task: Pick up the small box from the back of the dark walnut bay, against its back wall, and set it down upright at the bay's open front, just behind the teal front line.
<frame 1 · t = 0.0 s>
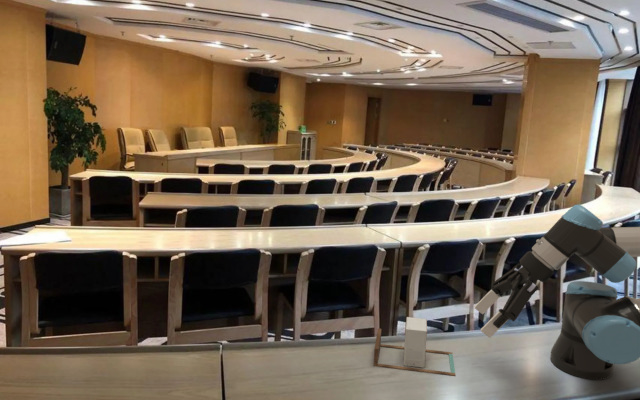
hand: (481, 321, 126), 15 cm above the table, tool tilted 35°, fingers open, 13 cm apart
small box: (413, 360, 137), on the table
bay: (414, 359, 137), on the table
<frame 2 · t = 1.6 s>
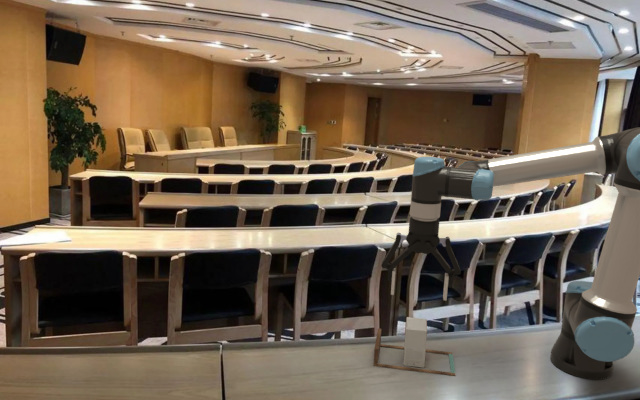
hand: (418, 295, 133), 18 cm above the table, tool pointing down, fingers open, 13 cm apart
nothing on the table moved.
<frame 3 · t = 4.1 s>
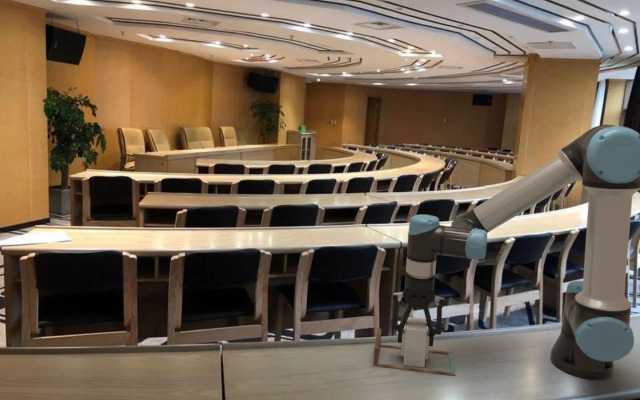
hand: (414, 354, 136), 1 cm above the table, tool pointing down, fingers closed on small box, 6 cm apart
small box: (413, 360, 137), on the table, touching gripper
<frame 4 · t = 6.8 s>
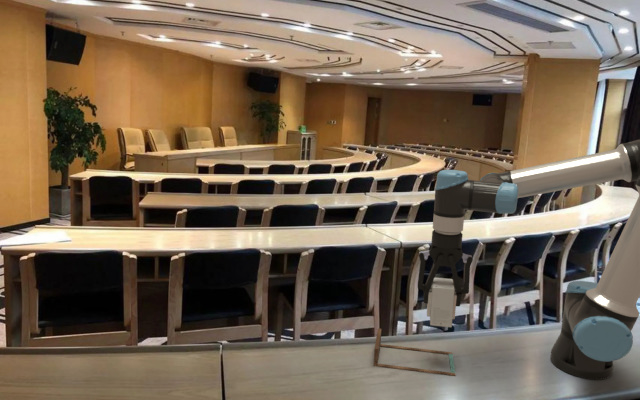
hand: (440, 315, 133), 13 cm above the table, tool pointing down, fingers closed on small box, 6 cm apart
small box: (440, 321, 133), point 12 cm above the table, touching gripper
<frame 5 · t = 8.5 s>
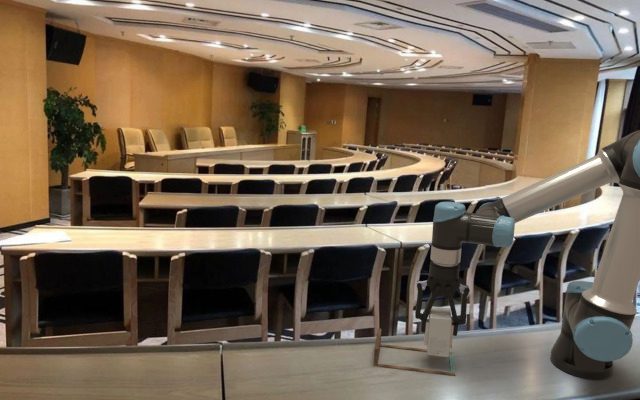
hand: (437, 344, 135), 5 cm above the table, tool pointing down, fingers closed on small box, 6 cm apart
small box: (437, 349, 135), point 4 cm above the table, touching gripper
when the fingers open (3 cm above the table, at t = 9.9 s): small box drops 1 cm, on the table.
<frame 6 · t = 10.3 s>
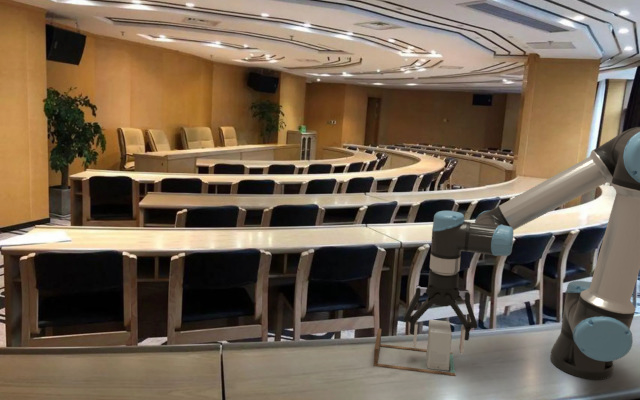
hand: (437, 347, 135), 4 cm above the table, tool pointing down, fingers open, 11 cm apart
small box: (437, 363, 136), on the table
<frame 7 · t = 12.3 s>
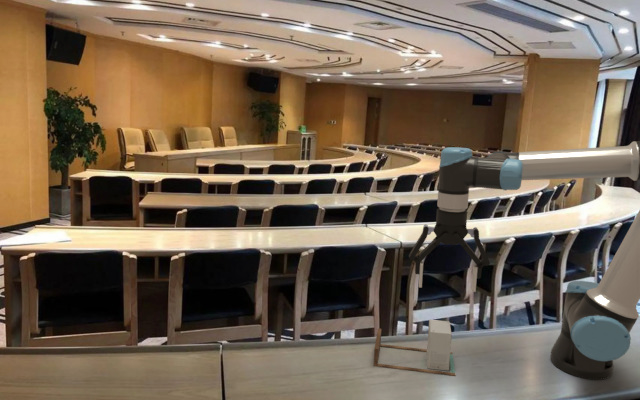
hand: (446, 287, 132), 21 cm above the table, tool pointing down, fingers open, 13 cm apart
nothing on the table moved.
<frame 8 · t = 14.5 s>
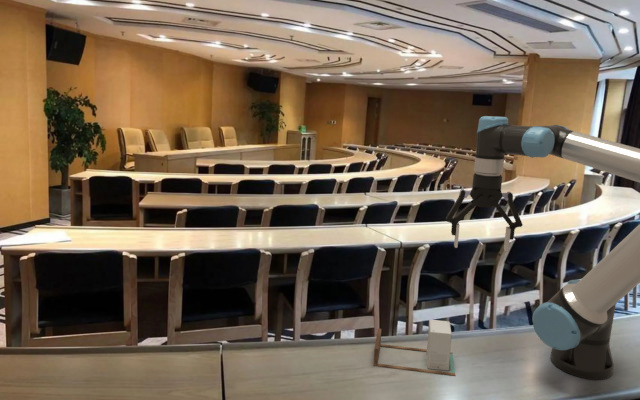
hand: (480, 248, 141), 29 cm above the table, tool pointing down, fingers open, 13 cm apart
nothing on the table moved.
at the end: small box 0.2 cm from the target spot, on the table; small box tilted 0°; the gripper is holding nothing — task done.
